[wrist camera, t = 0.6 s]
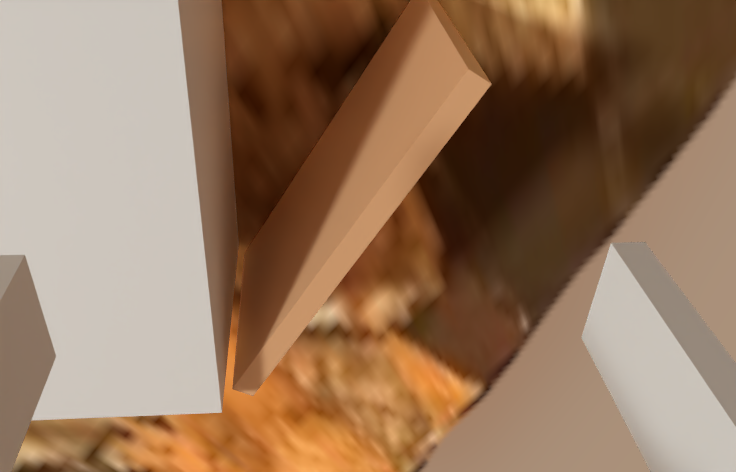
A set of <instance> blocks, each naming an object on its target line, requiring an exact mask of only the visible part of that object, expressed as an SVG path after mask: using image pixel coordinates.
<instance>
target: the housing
mask: <svg viewBox="0 0 736 472" xmlns="http://www.w3.org/2000/svg"><path fill="white" fill-rule="evenodd" d="M238 247H239V240H238V226H237V211H236V197H235V183H234V169H233V154H232V140H231V126H230V111H229V97H228V83H227V68H226V54H225V40H224V26H223V11H222V0H0V255H25V257H26V260H27V263H28V266H29V270H30V273H31V276H32V279H33V283H34V286H35V289H36V292H37V295H38V299H39V302H40V305H41V308H42V312H43V315H44V318H45V321H46V325H47V328H48V331H49V334H50V338H51V341H52V344H53V347H54V351H55V354H56V358H55V361H54V363H53V366H52V369H51V371H50V374H49V376H48V379H47V381H46V384H45V386H44V389H43V392H42V394H41V397H40V399H39V402H38V404H37V407H36V410H35V412H34V415H33V417H32V420H53V419H77V418H101V417H125V416H149V415H174V414H198V413H222V406H223V396H224V386H225V376H226V366H227V356H228V346H229V336H230V326H231V317H232V307H233V297H234V287H235V277H236V267H237V257H238Z"/></svg>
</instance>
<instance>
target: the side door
mask: <svg viewBox="0 0 736 472" xmlns="http://www.w3.org/2000/svg"><path fill="white" fill-rule="evenodd" d="M490 86H491V82H490V81H489V79H488V77H487V76H486V74H485V73H484V71H483V70H482V68H481V67H480V65H479V64H478V62H477V60H476V59H475V57H474V56H473V54H472V53H471V51H470V50H469V48H468V46H467V45H466V43H465V42H464V40H463V39H462V37H461V36H460V34H459V32H458V31H457V29H456V28H455V26H454V25H453V23H452V22H451V20H450V19H449V17H448V15H447V14H446V12H445V11H444V9H443V8H442V6H441V5H440V3H439V1H438V0H410V2H409V3H408V5H407V6H406V8H405V9H404V11H403V12H402V14H401V16H400V17H399V19H398V20H397V22H396V23H395V25H394V26H393V28H392V29H391V31H390V32H389V34H388V35H387V37H386V38H385V40H384V41H383V43H382V45H381V46H380V48H379V49H378V51H377V52H376V54H375V55H374V57H373V58H372V60H371V61H370V63H369V64H368V66H367V67H366V69H365V70H364V72H363V73H362V75H361V77H360V78H359V80H358V81H357V83H356V84H355V86H354V87H353V89H352V90H351V92H350V93H349V95H348V96H347V98H346V99H345V101H344V102H343V104H342V106H341V107H340V109H339V110H338V112H337V113H336V115H335V116H334V118H333V119H332V121H331V122H330V124H329V125H328V127H327V128H326V130H325V131H324V133H323V135H322V136H321V138H320V139H319V141H318V142H317V144H316V145H315V147H314V148H313V150H312V151H311V153H310V154H309V156H308V157H307V159H306V160H305V162H304V163H303V165H302V167H301V168H300V170H299V171H298V173H297V174H296V176H295V177H294V179H293V180H292V182H291V183H290V185H289V186H288V188H287V189H286V191H285V192H284V194H283V196H282V197H281V199H280V200H279V202H278V203H277V205H276V206H275V208H274V209H273V211H272V212H271V214H270V215H269V217H268V218H267V220H266V221H265V223H264V225H263V226H262V228H261V229H260V231H259V232H258V234H257V235H256V237H255V238H254V240H253V241H252V243H251V244H250V246H249V247H248V249H247V250H246V252H245V253H244V263H243V275H242V286H241V298H240V309H239V320H238V332H237V343H236V355H235V366H234V377H233V389H234V390H237V391H240V392H243V393H246V394H248V395H251V396H253V395H254V394H255V393H256V391H257V390H258V389H259V388H260V386H261V385H262V384H263V382H264V381H265V380H266V378H267V377H268V376H269V374H270V373H271V372H272V371H273V369H274V368H275V367H276V365H277V364H278V363H279V361H280V360H281V359H282V357H283V356H284V355H285V354H286V352H287V351H288V350H289V348H290V347H291V346H292V344H293V343H294V342H295V340H296V339H297V338H298V337H299V335H300V334H301V333H302V331H303V330H304V329H305V327H306V326H307V325H308V323H309V322H310V321H311V320H312V318H313V317H314V316H315V314H316V313H317V312H318V310H319V309H320V308H321V306H322V305H323V304H324V303H325V301H326V300H327V299H328V297H329V296H330V295H331V293H332V292H333V291H334V289H335V288H336V287H337V286H338V284H339V283H340V282H341V280H342V279H343V278H344V276H345V275H346V274H347V272H348V271H349V270H350V269H351V267H352V266H353V265H354V263H355V262H356V261H357V259H358V258H359V257H360V255H361V254H362V253H363V252H364V250H365V249H366V248H367V246H368V245H369V244H370V242H371V241H372V240H373V238H374V237H375V236H376V235H377V233H378V232H379V231H380V229H381V228H382V227H383V225H384V224H385V223H386V221H387V220H388V219H389V218H390V216H391V215H392V214H393V212H394V211H395V210H396V208H397V207H398V206H399V204H400V203H401V202H402V201H403V199H404V198H405V197H406V195H407V194H408V193H409V191H410V190H411V189H412V187H413V186H414V185H415V184H416V182H417V181H418V180H419V178H420V177H421V176H422V174H423V173H424V172H425V170H426V169H427V168H428V167H429V165H430V164H431V163H432V161H433V160H434V159H435V157H436V156H437V155H438V154H439V152H440V151H441V150H442V148H443V147H444V146H445V144H446V143H447V142H448V140H449V139H450V138H451V137H452V135H453V134H454V133H455V131H456V130H457V129H458V127H459V126H460V125H461V123H462V122H463V121H464V120H465V118H466V117H467V116H468V114H469V113H470V112H471V110H472V109H473V108H474V106H475V105H476V104H477V103H478V101H479V100H480V99H481V97H482V96H483V95H484V93H485V92H486V91H487V89H488V88H489V87H490Z"/></svg>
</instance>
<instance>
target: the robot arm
mask: <svg viewBox="0 0 736 472" xmlns="http://www.w3.org/2000/svg"><path fill="white" fill-rule="evenodd" d="M582 340H583V342H584V343H585V345H586V347H587V349H588V351H589V353H590V355H591V357H592V359H593V361H594V363H595V365H596V367H597V369H598V371H599V373H600V375H601V376H602V379H603V380H604V382H605V384H606V386H607V388H608V390H609V392H610V394H611V396H612V398H613V400H614V402H615V404H616V406H617V408H618V410H619V412H620V413H621V415H622V417H623V419H624V421H625V423H626V425H627V427H628V429H629V431H630V433H631V435H632V437H633V439H634V441H635V443H636V445H637V447H638V449H639V451H640V452H641V454H642V456H643V458H644V460H645V462H646V464H647V466H648V468H649V470H650V472H736V363H735V361H734V360H733V359H732V358H731V356H730V355H729V353H728V352H727V351H726V349H725V348H724V347H723V345H722V344H721V343H720V341H719V340H718V339H717V337H716V336H715V335H714V333H713V332H712V331H711V330H710V328H709V327H708V326H707V324H706V323H705V321H704V320H703V319H702V317H701V316H700V315H699V313H698V312H697V311H696V309H695V308H694V307H693V305H692V304H691V303H690V301H689V300H688V299H687V297H686V296H685V295H684V293H683V292H682V291H681V289H680V288H679V287H678V285H677V284H676V283H675V281H674V280H673V279H672V277H671V276H670V275H669V273H668V272H667V271H666V269H665V268H664V267H663V265H662V264H661V263H660V261H659V260H658V259H657V257H656V256H655V255H654V253H653V252H652V251H651V249H650V248H649V247H648V245H647V244H646V243H645V242H630V243H611V245H610V248H609V251H608V255H607V258H606V261H605V264H604V268H603V270H602V273H601V277H600V280H599V283H598V286H597V290H596V293H595V296H594V299H593V302H592V305H591V309H590V312H589V315H588V318H587V321H586V324H585V328H584V331H583V334H582ZM55 358H56V354H55V351H54V347H53V344H52V341H51V338H50V334H49V331H48V328H47V325H46V321H45V318H44V315H43V312H42V308H41V305H40V302H39V299H38V295H37V292H36V289H35V286H34V283H33V279H32V276H31V273H30V270H29V266H28V263H27V260H26V257H25V255H0V472H11V471H12V469H13V466H14V463H15V461H16V458H17V456H18V453H19V451H20V448H21V445H22V443H23V440H24V438H25V435H26V433H27V430H28V428H29V425H30V422H31V420H32V417H33V415H34V412H35V410H36V407H37V404H38V402H39V399H40V397H41V394H42V392H43V389H44V386H45V384H46V381H47V379H48V376H49V374H50V371H51V369H52V366H53V363H54V361H55Z"/></svg>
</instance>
